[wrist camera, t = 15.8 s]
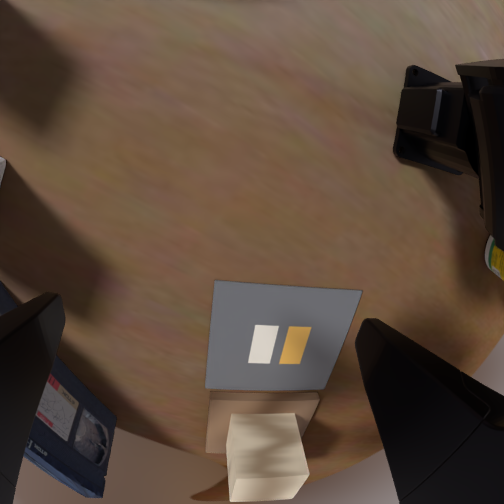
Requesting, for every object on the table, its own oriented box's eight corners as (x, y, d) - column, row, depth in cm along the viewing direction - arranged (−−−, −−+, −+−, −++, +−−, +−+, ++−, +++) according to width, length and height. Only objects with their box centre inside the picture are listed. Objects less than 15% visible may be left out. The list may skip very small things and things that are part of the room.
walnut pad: (317, 392, 28) (319, 399, 27) (292, 444, 32) (294, 451, 31) (210, 391, 27) (210, 399, 26) (205, 445, 31) (205, 452, 30)
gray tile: (362, 290, 23) (362, 290, 23) (323, 388, 28) (324, 389, 28) (214, 280, 22) (215, 280, 22) (205, 387, 26) (205, 388, 26)
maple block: (294, 413, 28) (309, 474, 21) (281, 444, 30) (292, 498, 24) (231, 413, 27) (236, 478, 20) (226, 444, 29) (230, 501, 23)
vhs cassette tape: (119, 417, 28) (104, 499, 19) (99, 421, 28) (81, 498, 19) (1, 274, 20) (-65, 350, 11) (-15, 285, 20) (-77, 357, 11)
